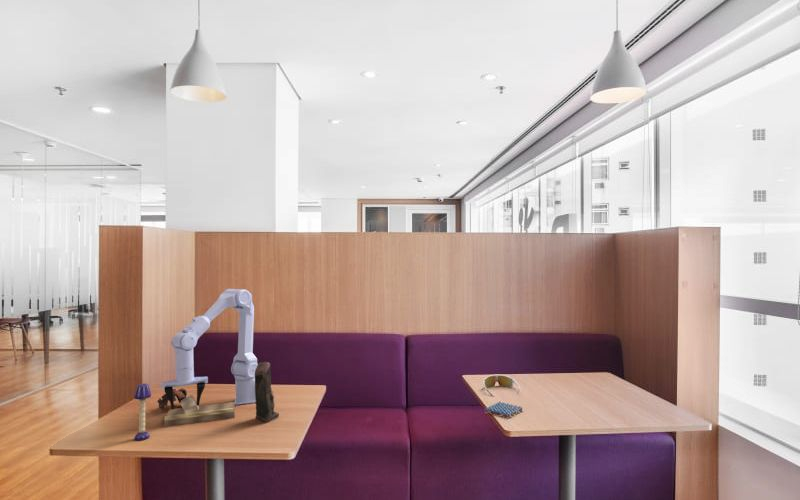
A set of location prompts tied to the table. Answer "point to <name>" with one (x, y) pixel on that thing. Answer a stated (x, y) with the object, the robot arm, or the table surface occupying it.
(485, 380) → the sunglasses
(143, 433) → the toy lamp
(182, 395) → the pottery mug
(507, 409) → the woven mat
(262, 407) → the statue
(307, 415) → the table surface
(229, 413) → the walnut board
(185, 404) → the wooden mallet
